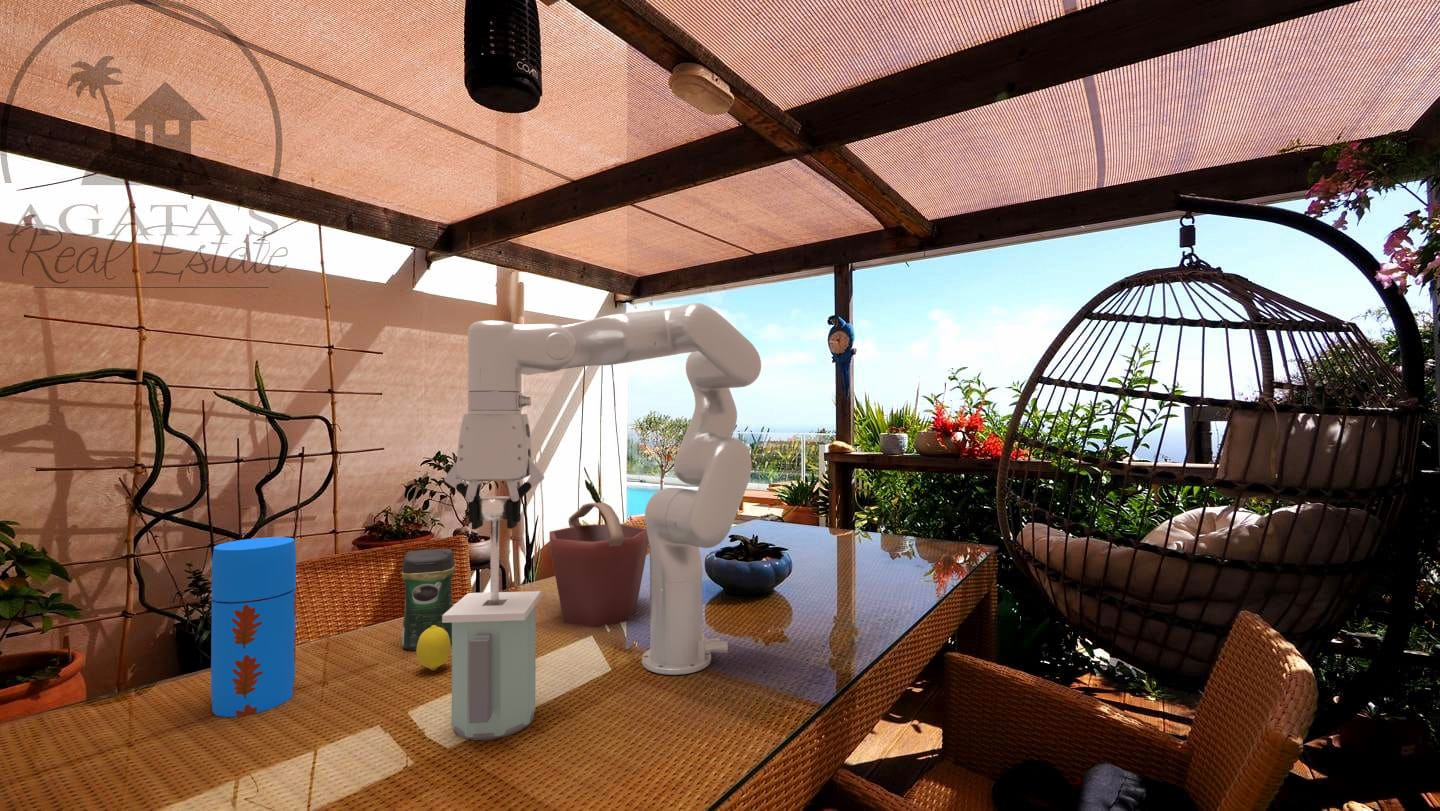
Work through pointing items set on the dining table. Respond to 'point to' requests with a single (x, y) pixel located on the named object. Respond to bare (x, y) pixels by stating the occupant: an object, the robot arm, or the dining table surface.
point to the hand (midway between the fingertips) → (494, 526)
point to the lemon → (433, 647)
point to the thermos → (253, 625)
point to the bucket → (598, 568)
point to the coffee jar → (426, 592)
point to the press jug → (493, 664)
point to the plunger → (494, 536)
